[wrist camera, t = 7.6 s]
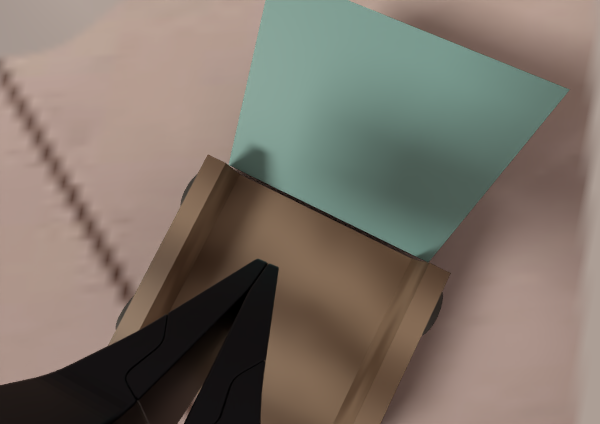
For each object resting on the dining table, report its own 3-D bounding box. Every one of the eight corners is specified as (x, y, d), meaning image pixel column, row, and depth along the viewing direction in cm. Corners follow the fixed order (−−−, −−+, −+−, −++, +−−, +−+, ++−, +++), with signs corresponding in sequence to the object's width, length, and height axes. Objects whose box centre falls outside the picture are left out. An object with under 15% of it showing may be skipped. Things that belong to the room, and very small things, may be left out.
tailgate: (428, 262, 18) (569, 89, 13) (228, 164, 20) (272, -30, 14) (426, 244, 20) (548, 86, 14) (243, 156, 22) (287, -20, 16)
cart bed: (346, 453, 20) (355, 535, 14) (137, 332, 22) (75, 364, 16) (431, 271, 20) (472, 283, 15) (222, 168, 22) (190, 145, 17)
